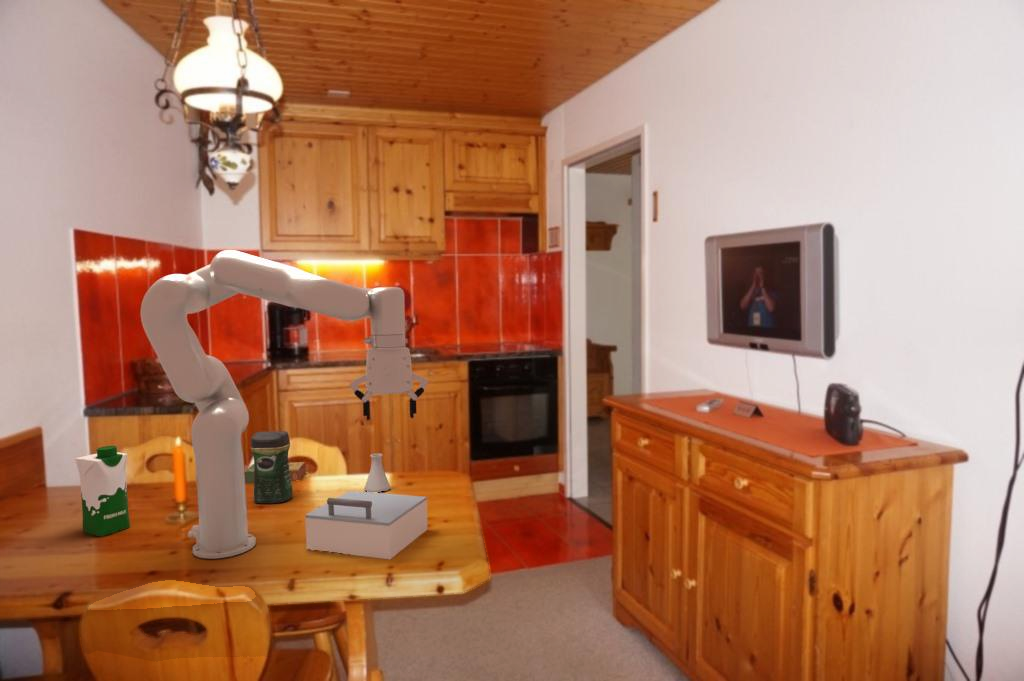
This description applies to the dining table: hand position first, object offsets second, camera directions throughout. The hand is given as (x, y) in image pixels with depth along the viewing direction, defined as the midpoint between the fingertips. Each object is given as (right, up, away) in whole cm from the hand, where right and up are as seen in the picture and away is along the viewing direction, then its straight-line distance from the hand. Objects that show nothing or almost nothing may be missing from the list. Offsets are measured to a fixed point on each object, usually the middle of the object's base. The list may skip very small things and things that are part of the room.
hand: (390, 418), depth 152 cm
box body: (-4, -27, -2) cm, 27 cm away
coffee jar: (-36, -25, +29) cm, 53 cm away
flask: (-10, -24, +36) cm, 44 cm away
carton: (-43, -24, +50) cm, 70 cm away
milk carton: (-69, -28, +8) cm, 74 cm away
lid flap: (-5, -20, -2) cm, 20 cm away
